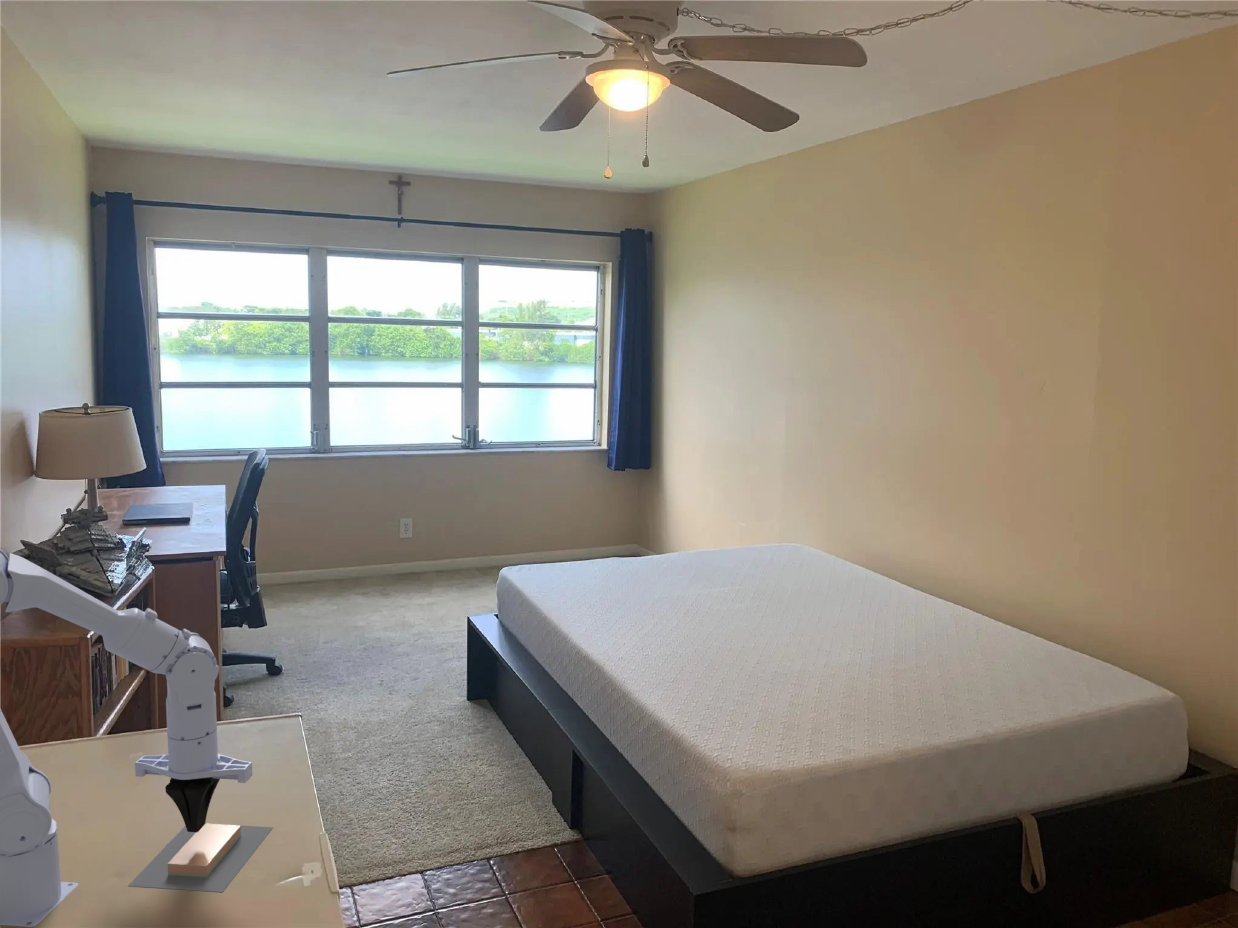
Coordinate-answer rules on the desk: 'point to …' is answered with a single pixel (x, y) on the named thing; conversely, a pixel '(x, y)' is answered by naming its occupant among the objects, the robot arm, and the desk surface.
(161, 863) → the mat
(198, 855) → the tan wooden block
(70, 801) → the desk surface
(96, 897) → the desk surface
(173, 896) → the desk surface
